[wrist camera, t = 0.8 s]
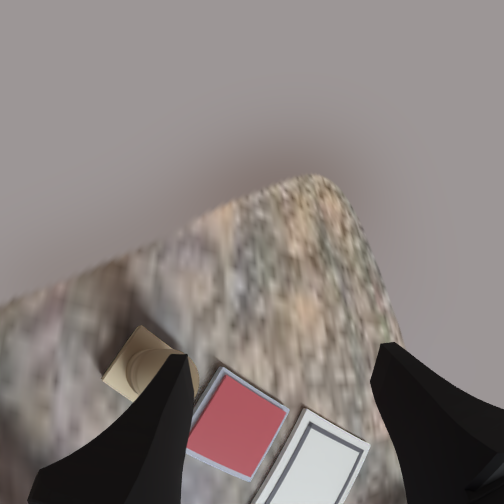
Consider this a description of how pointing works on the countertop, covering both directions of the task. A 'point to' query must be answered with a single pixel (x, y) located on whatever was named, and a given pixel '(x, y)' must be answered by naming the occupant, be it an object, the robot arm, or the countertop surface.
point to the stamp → (141, 364)
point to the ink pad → (234, 425)
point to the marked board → (314, 464)
